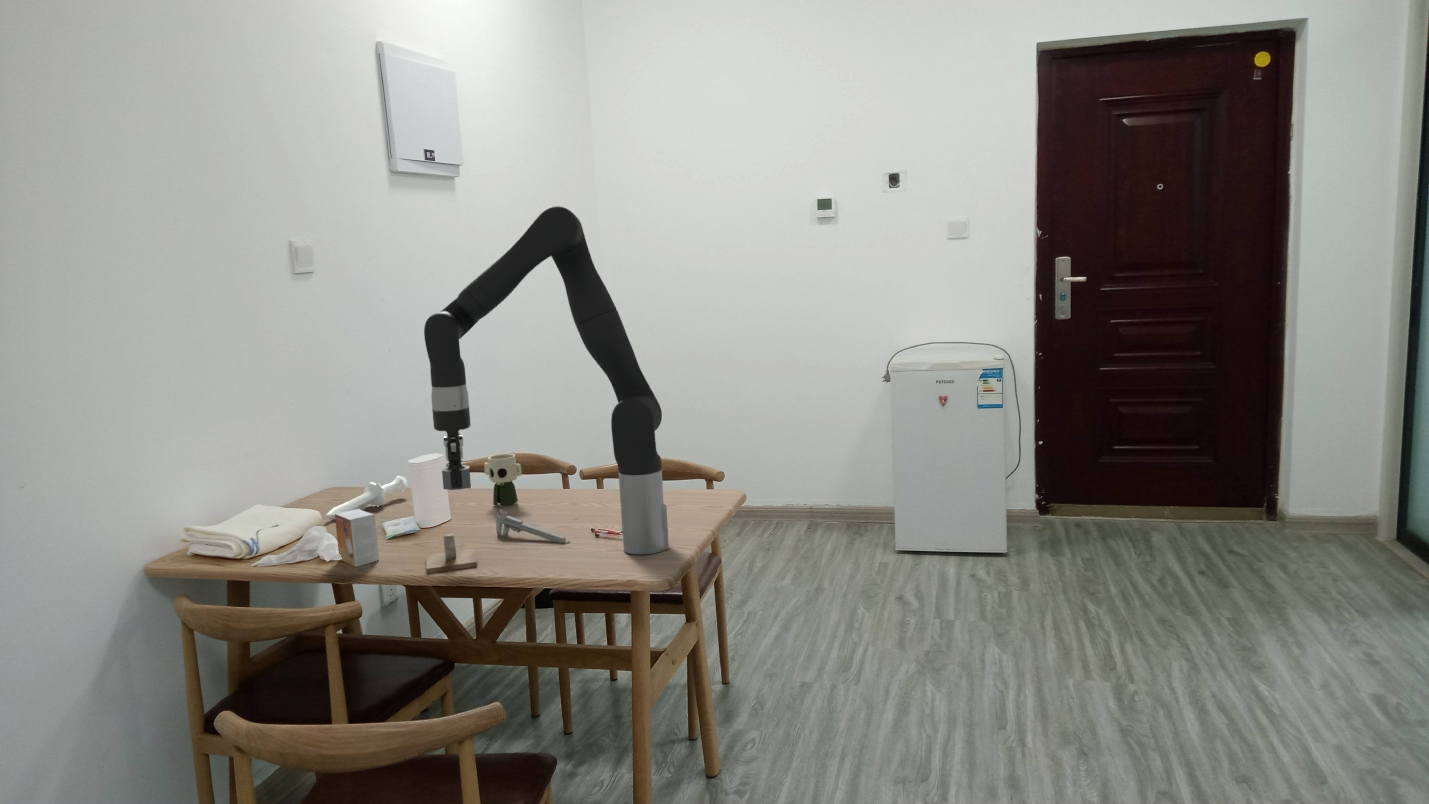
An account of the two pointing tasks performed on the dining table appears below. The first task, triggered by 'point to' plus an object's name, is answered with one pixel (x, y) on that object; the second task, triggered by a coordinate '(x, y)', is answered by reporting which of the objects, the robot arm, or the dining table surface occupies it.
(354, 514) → the small box
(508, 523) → the caliper
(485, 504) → the dining table surface
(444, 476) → the collar ring
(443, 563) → the inverted t stand
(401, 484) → the dagger
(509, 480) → the character mug
